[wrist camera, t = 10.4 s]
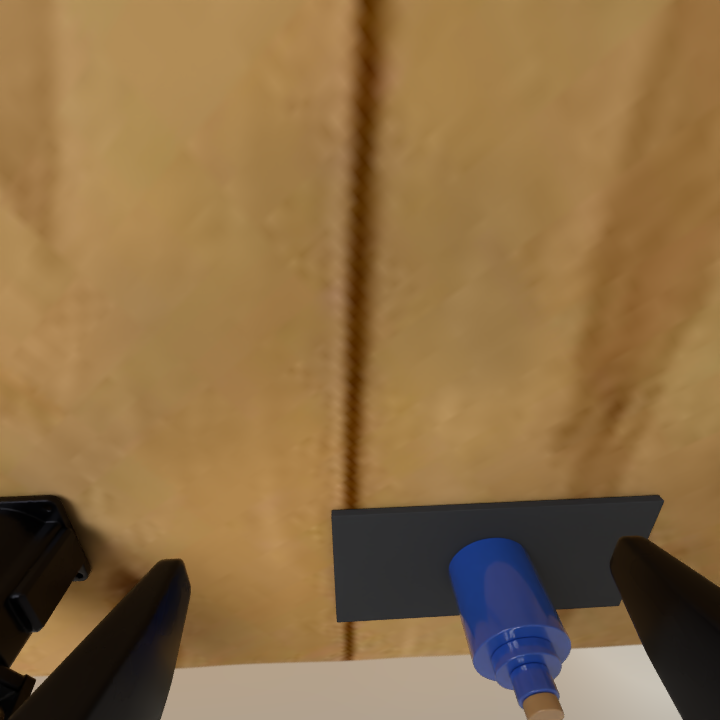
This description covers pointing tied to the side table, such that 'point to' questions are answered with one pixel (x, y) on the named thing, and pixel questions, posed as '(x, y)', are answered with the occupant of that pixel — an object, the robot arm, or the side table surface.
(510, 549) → the flask
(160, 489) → the side table surface
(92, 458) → the side table surface
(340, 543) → the mat
